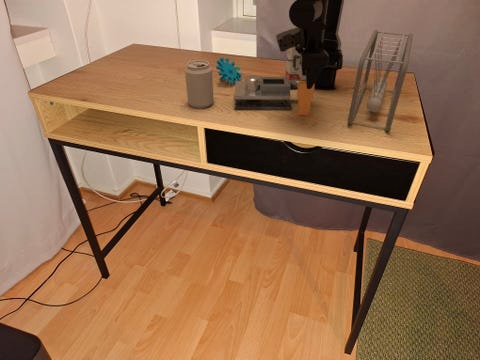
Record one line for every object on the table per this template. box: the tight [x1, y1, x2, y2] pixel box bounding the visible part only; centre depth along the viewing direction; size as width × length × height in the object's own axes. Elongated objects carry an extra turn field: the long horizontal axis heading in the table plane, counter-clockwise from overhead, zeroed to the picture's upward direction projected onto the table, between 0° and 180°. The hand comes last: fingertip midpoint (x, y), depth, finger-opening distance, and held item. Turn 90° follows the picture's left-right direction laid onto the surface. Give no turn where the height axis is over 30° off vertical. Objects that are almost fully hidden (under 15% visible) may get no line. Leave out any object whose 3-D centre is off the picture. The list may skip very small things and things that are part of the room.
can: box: [184, 59, 215, 109], centre depth 101 cm, size 8×8×12 cm
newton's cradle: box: [347, 29, 414, 132], centre depth 97 cm, size 30×10×18 cm, turn 157°
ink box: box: [284, 47, 306, 80], centre depth 116 cm, size 9×5×12 cm, turn 98°
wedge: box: [296, 81, 315, 116], centre depth 96 cm, size 4×2×9 cm, turn 89°
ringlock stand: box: [234, 74, 306, 111], centre depth 103 cm, size 22×12×7 cm, turn 89°
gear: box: [215, 56, 243, 86], centre depth 117 cm, size 11×6×10 cm
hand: (306, 81), depth 93 cm, fingers open, 9 cm apart
